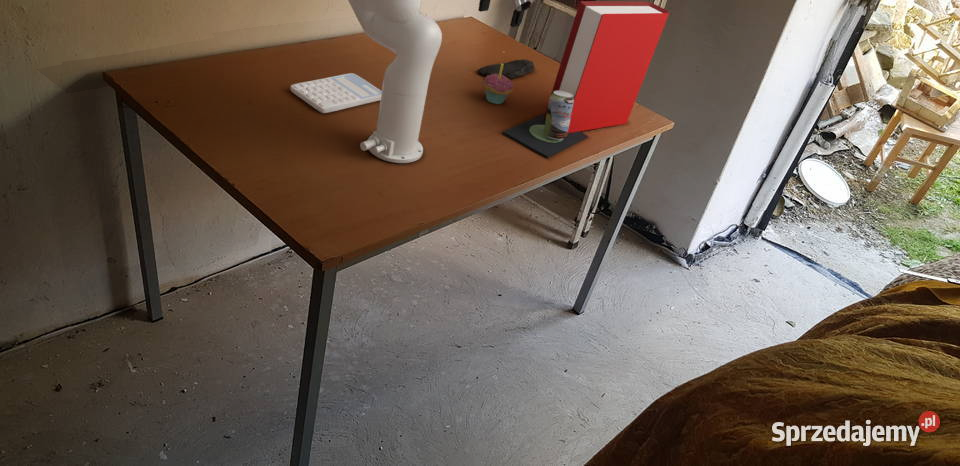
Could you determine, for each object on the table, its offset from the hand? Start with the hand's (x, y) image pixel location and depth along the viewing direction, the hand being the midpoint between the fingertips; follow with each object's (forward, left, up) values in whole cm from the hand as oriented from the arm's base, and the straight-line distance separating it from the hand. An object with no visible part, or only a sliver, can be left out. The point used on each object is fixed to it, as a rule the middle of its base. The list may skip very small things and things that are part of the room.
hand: (498, 18), depth 165 cm
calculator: (-22, +27, -27) cm, 44 cm away
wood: (+35, +14, -27) cm, 46 cm away
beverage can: (+11, -17, -26) cm, 33 cm away
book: (+29, -18, -27) cm, 43 cm away
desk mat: (+11, -15, -27) cm, 33 cm away
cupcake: (+15, +5, -27) cm, 31 cm away
